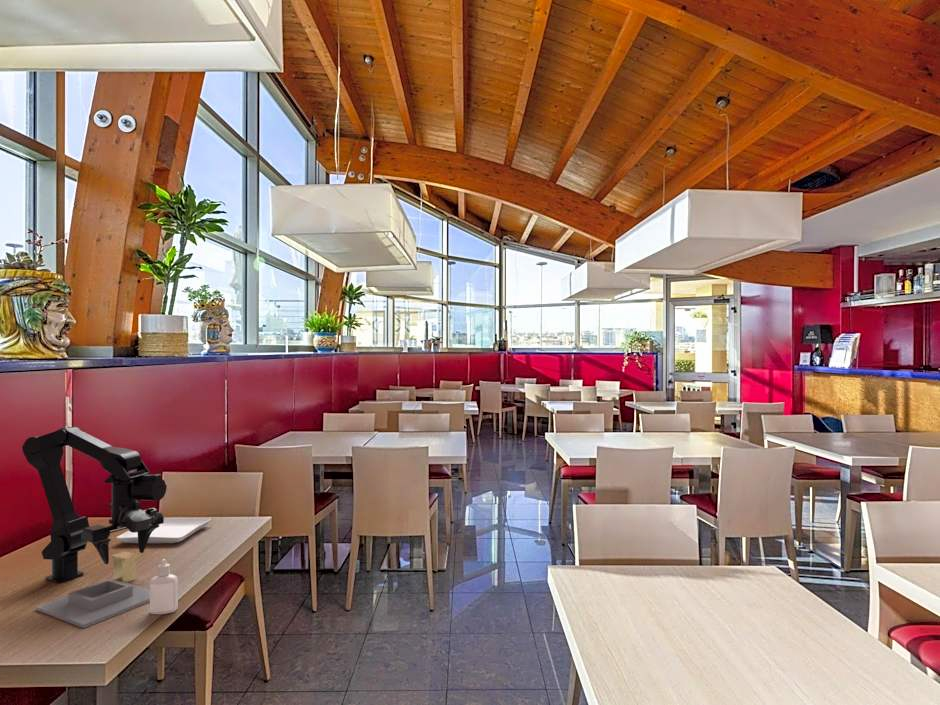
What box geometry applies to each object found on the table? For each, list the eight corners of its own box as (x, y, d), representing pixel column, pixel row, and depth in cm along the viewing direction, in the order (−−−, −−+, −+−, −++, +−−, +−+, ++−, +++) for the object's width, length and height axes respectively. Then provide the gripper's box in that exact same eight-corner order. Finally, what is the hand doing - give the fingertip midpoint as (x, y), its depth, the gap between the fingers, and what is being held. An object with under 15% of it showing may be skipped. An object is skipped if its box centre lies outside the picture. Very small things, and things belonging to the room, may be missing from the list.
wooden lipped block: (111, 580, 147) (111, 555, 147) (124, 576, 150) (124, 551, 150) (125, 584, 144) (124, 558, 144) (138, 579, 147) (138, 554, 147)
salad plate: (180, 547, 174) (180, 536, 174) (114, 547, 174) (114, 536, 174) (213, 526, 195) (213, 517, 195) (153, 527, 195) (153, 517, 195)
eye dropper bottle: (164, 617, 125) (164, 564, 125) (146, 613, 127) (146, 561, 127) (180, 609, 129) (180, 557, 129) (162, 605, 131) (162, 555, 131)
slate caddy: (35, 610, 129) (35, 595, 129) (115, 582, 145) (114, 569, 145) (83, 628, 120) (83, 613, 120) (162, 596, 136) (162, 583, 136)
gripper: (105, 511, 135) (105, 575, 135) (176, 494, 152) (176, 551, 151) (79, 506, 140) (79, 568, 140) (151, 490, 157) (151, 545, 157)
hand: (124, 558), depth 147 cm, fingers open, 9 cm apart
